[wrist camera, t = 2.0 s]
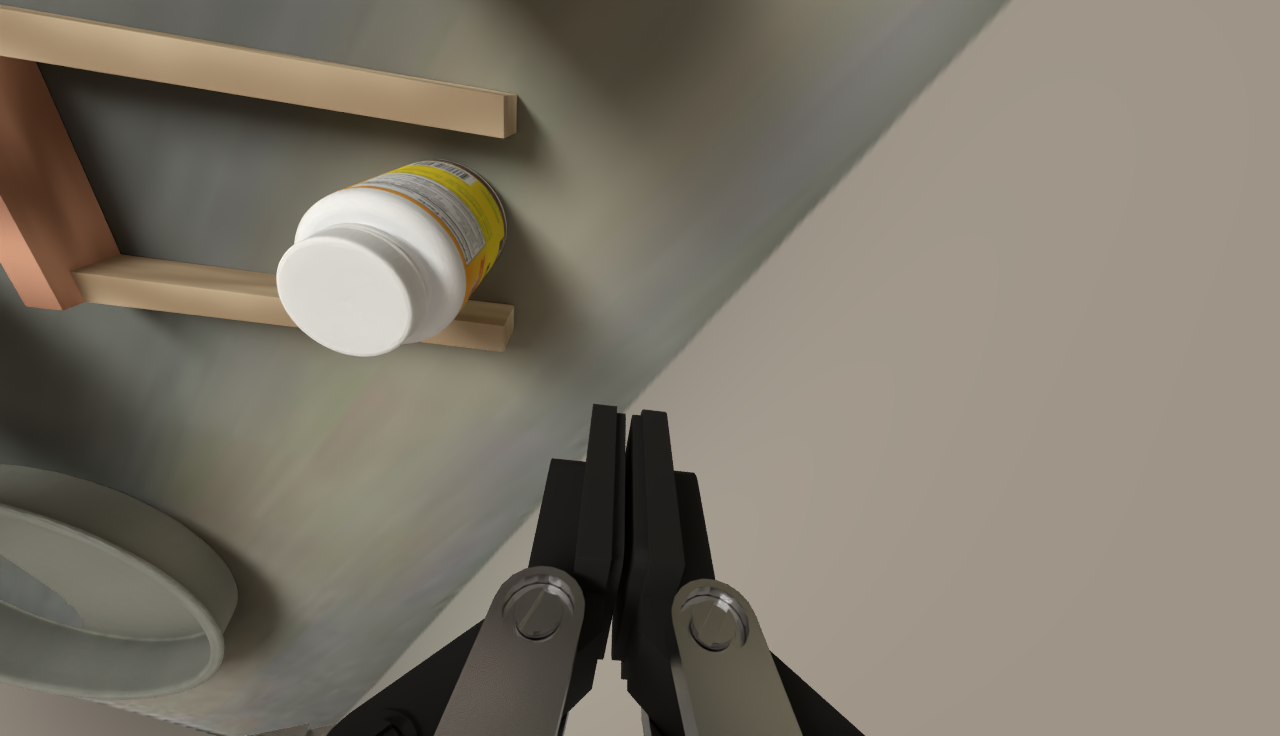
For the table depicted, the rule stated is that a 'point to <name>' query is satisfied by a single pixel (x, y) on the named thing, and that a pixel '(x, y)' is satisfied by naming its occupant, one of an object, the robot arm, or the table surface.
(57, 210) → the channel
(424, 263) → the supplement bottle
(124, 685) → the cake pan
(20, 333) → the table surface
